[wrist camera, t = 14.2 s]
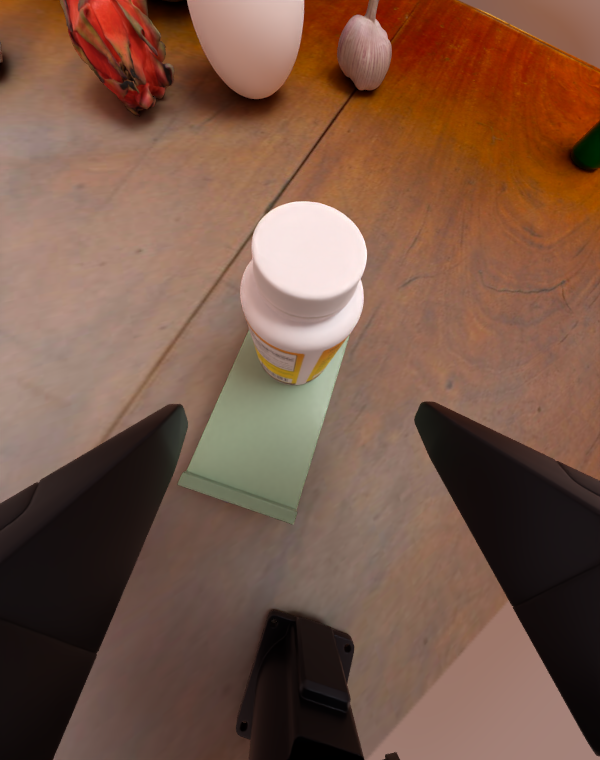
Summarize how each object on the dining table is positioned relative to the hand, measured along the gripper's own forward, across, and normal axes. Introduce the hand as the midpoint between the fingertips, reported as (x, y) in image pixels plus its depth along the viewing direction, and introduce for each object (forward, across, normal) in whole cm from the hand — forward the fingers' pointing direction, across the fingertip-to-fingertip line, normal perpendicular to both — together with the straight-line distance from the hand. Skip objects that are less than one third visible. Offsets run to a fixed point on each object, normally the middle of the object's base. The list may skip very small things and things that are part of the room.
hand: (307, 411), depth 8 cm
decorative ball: (+38, +4, -22) cm, 44 cm away
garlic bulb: (+42, -10, -26) cm, 50 cm away
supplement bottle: (+10, 0, +2) cm, 10 cm away
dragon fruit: (+35, +18, -20) cm, 44 cm away
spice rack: (+9, +1, +6) cm, 11 cm away
